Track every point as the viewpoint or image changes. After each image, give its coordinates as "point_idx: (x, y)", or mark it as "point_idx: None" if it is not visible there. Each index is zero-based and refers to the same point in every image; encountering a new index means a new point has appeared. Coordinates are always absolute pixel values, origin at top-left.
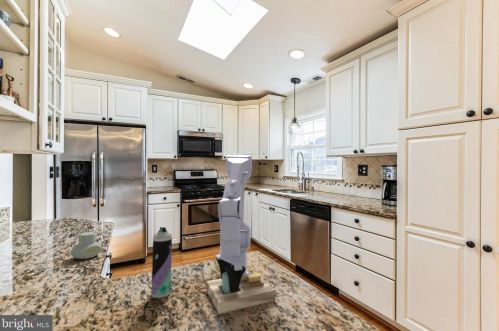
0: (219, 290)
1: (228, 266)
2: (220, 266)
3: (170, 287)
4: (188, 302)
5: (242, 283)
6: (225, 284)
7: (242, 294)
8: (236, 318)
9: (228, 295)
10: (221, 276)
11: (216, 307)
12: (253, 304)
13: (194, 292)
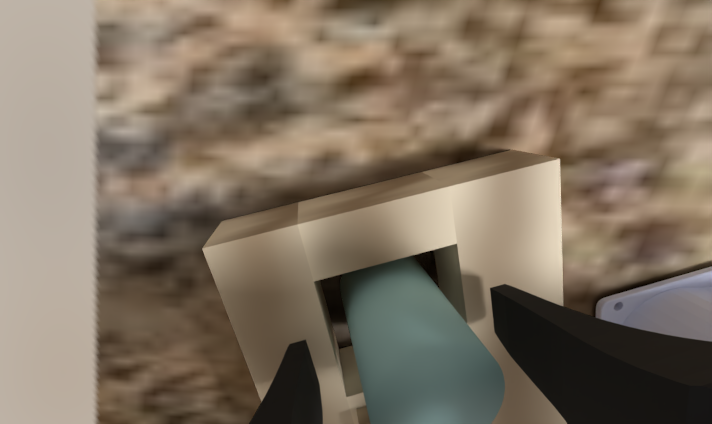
0: (383, 256)
1: (580, 419)
2: (593, 353)
3: None
4: (397, 14)
5: None
6: (368, 328)
7: None
8: (173, 315)
9: (296, 316)
10: (515, 301)
11: (269, 213)
12: None
13: (520, 60)
